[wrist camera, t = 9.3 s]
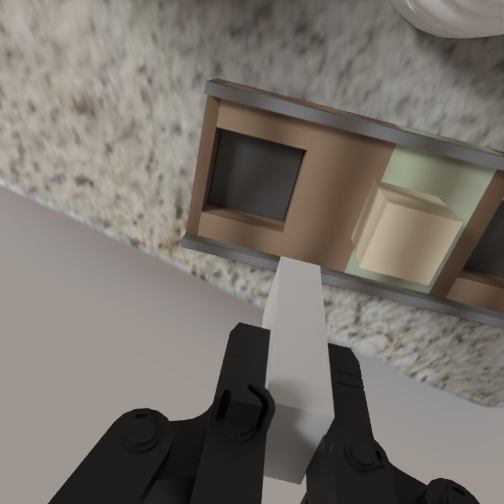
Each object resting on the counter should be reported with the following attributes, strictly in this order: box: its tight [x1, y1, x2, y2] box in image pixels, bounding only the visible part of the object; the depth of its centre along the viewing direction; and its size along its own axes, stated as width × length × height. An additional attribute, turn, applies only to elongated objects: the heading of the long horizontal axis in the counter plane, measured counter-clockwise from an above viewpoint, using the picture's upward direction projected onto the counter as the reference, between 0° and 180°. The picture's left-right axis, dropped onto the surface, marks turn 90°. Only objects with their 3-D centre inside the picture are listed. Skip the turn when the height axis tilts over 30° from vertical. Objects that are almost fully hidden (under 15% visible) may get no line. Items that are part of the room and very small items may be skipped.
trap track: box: [181, 78, 504, 329], centre depth 30 cm, size 31×13×4 cm, turn 77°
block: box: [351, 180, 463, 285], centre depth 28 cm, size 5×5×5 cm
